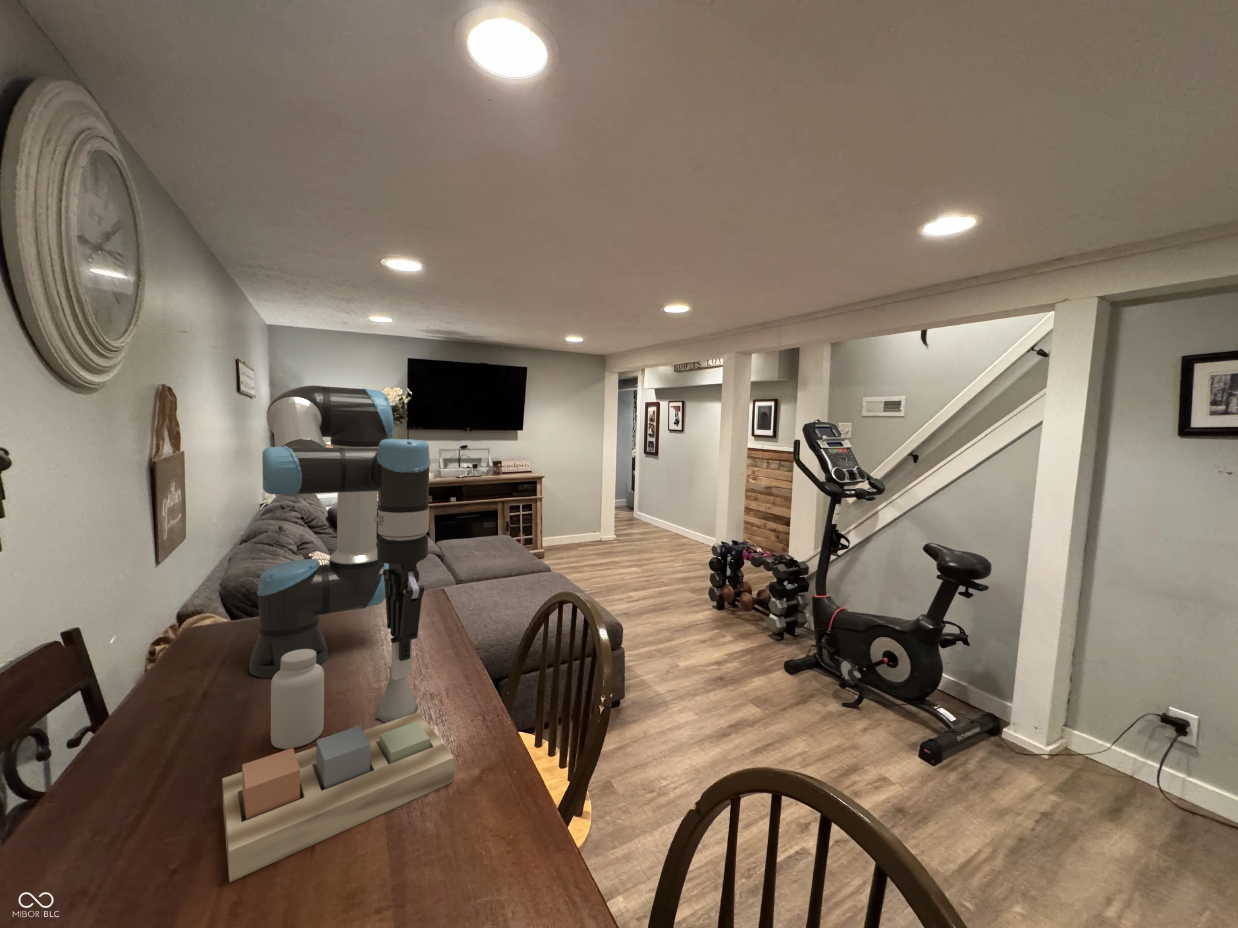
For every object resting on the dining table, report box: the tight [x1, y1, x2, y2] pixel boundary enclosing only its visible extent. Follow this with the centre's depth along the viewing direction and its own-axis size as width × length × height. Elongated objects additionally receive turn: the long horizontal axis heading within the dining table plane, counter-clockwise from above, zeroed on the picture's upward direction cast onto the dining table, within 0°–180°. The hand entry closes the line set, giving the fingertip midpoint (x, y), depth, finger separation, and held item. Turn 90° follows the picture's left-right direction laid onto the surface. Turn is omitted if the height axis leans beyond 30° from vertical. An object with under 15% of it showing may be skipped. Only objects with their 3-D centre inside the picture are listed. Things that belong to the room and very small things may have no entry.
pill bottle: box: [270, 649, 325, 750], centre depth 87 cm, size 8×8×15 cm
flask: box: [375, 661, 419, 723], centre depth 96 cm, size 7×7×10 cm
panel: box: [221, 711, 455, 883], centre depth 75 cm, size 16×28×4 cm, turn 131°
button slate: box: [316, 725, 370, 789], centre depth 74 cm, size 6×6×4 cm
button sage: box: [380, 722, 430, 764], centre depth 81 cm, size 6×6×4 cm
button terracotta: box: [241, 748, 300, 820], centre depth 69 cm, size 6×6×4 cm
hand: (401, 675), depth 81 cm, fingers closed
